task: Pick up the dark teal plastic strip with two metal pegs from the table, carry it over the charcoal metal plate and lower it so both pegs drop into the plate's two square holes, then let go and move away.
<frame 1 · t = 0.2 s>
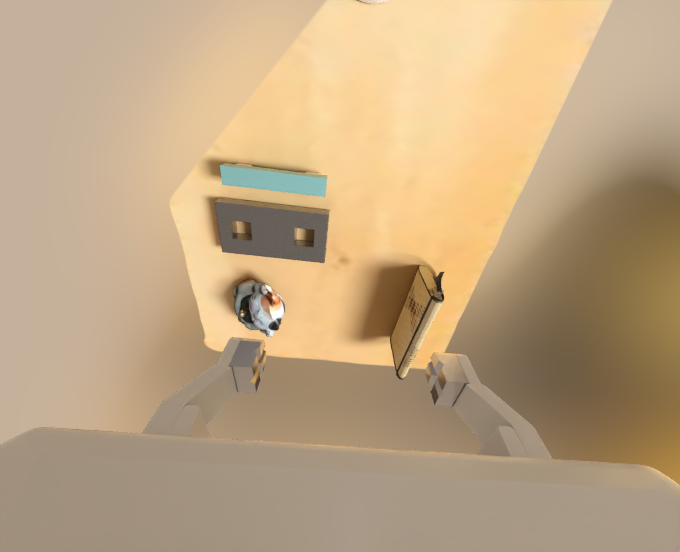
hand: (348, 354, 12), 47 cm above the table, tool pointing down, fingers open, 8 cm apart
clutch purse: (413, 303, 71), on the table
hole plate: (276, 229, 60), on the table
peg strip: (279, 175, 53), on the table
lucky cat figurine: (263, 293, 70), on the table
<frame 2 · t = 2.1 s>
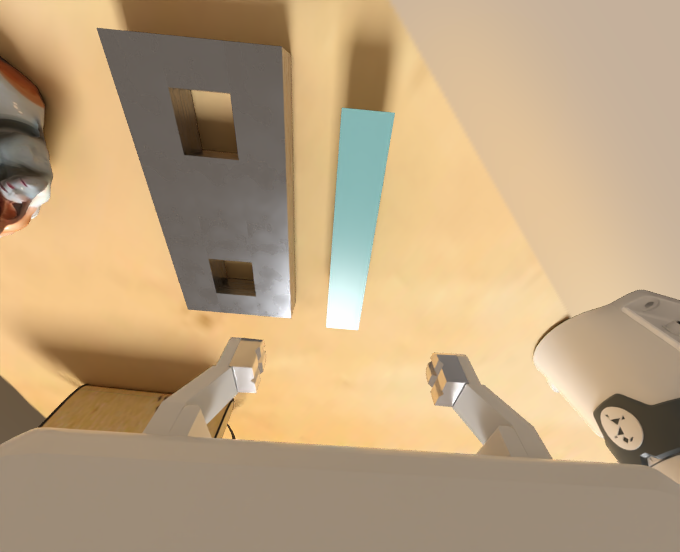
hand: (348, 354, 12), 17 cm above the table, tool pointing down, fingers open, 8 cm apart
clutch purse: (166, 398, 46), on the table
hole plate: (234, 204, 26), on the table
peg strip: (351, 224, 26), on the table
lucky cat figurine: (11, 131, 23), on the table
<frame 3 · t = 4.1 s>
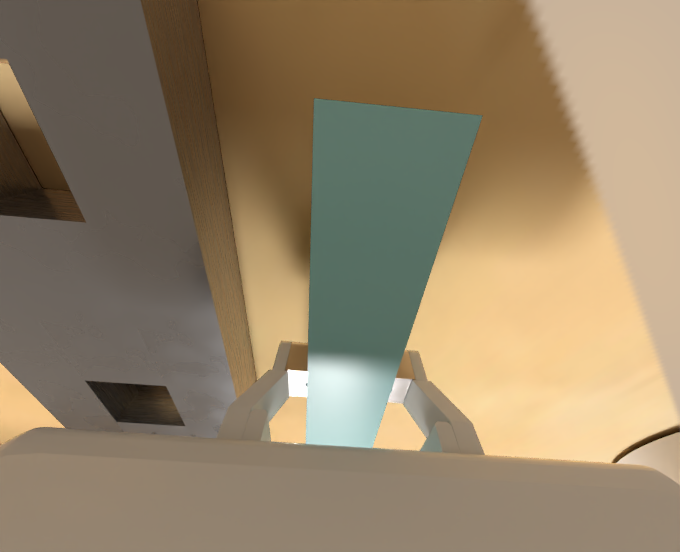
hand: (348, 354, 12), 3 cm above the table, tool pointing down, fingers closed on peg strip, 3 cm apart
hole plate: (132, 281, 14), on the table
peg strip: (348, 312, 15), on the table, touching gripper
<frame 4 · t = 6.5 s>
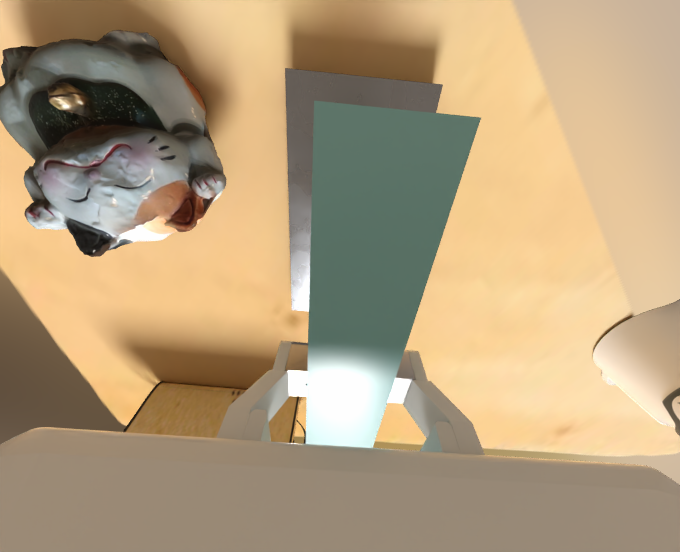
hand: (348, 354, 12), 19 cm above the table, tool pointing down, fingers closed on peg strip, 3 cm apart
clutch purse: (235, 393, 49), on the table
hole plate: (348, 215, 28), on the table
peg strip: (347, 313, 15), point 16 cm above the table, touching gripper
lucky cat figurine: (163, 136, 25), on the table
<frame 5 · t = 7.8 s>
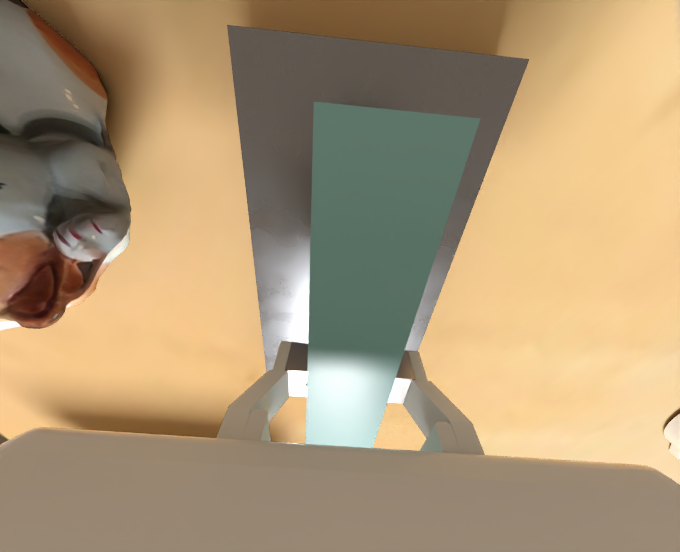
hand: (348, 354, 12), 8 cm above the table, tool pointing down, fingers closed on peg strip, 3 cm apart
hole plate: (348, 264, 19), on the table
peg strip: (347, 313, 15), point 5 cm above the table, touching gripper
lucky cat figurine: (52, 142, 15), on the table
when the fingers open (4 cm above the table, at t = 9.0 s): peg strip stays where it is, resting on hole plate.
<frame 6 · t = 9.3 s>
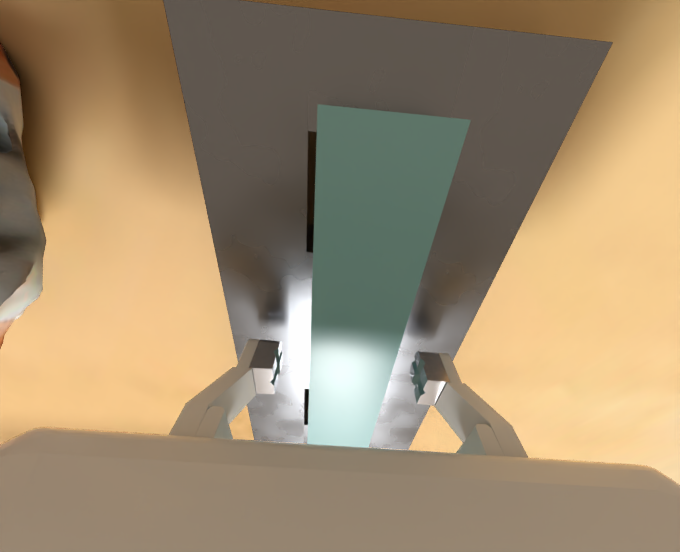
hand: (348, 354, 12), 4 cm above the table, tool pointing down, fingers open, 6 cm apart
hole plate: (347, 300, 16), on the table
peg strip: (348, 307, 15), resting on hole plate
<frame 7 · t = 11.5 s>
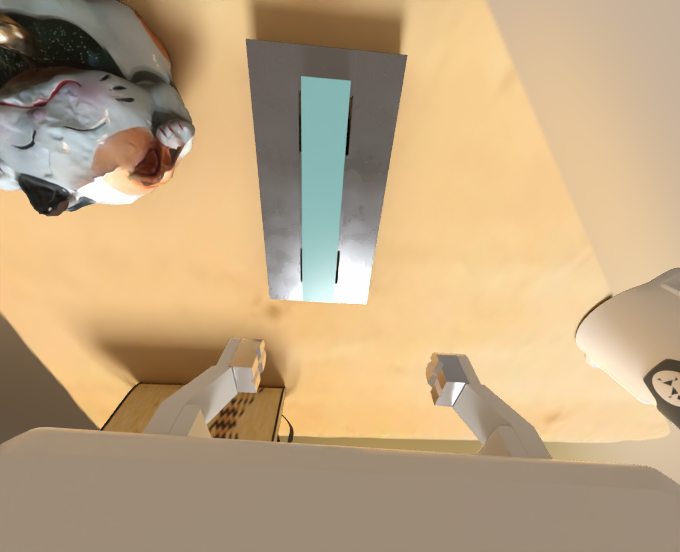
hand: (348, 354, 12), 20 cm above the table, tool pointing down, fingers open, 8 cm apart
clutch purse: (218, 391, 47), on the table
hole plate: (323, 198, 28), on the table
peg strip: (323, 200, 28), resting on hole plate
lucky cat figurine: (130, 99, 23), on the table
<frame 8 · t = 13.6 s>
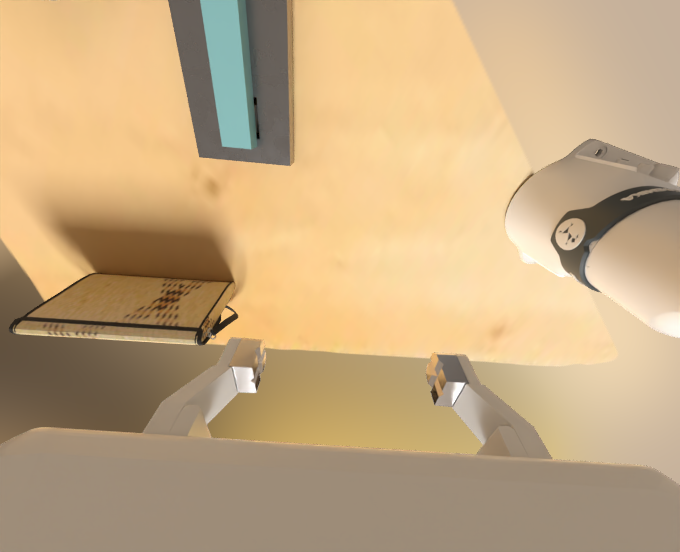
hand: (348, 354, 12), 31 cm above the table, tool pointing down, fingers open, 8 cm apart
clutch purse: (173, 287, 50), on the table
hole plate: (241, 46, 30), on the table
peg strip: (240, 46, 29), resting on hole plate
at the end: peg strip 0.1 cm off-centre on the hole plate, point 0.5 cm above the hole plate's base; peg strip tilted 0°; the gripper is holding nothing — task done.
